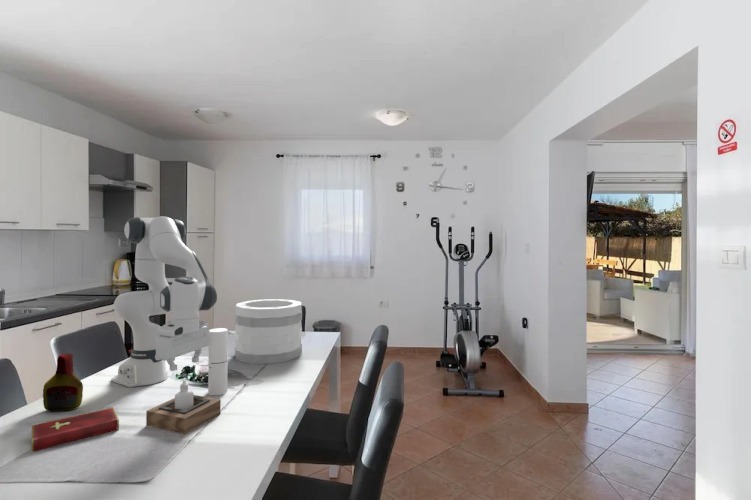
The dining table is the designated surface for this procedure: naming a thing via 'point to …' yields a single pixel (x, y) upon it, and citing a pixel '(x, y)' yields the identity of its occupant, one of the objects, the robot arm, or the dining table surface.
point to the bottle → (63, 387)
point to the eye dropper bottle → (184, 397)
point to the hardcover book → (73, 428)
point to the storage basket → (268, 331)
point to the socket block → (183, 415)
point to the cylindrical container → (218, 361)
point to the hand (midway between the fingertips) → (184, 366)
